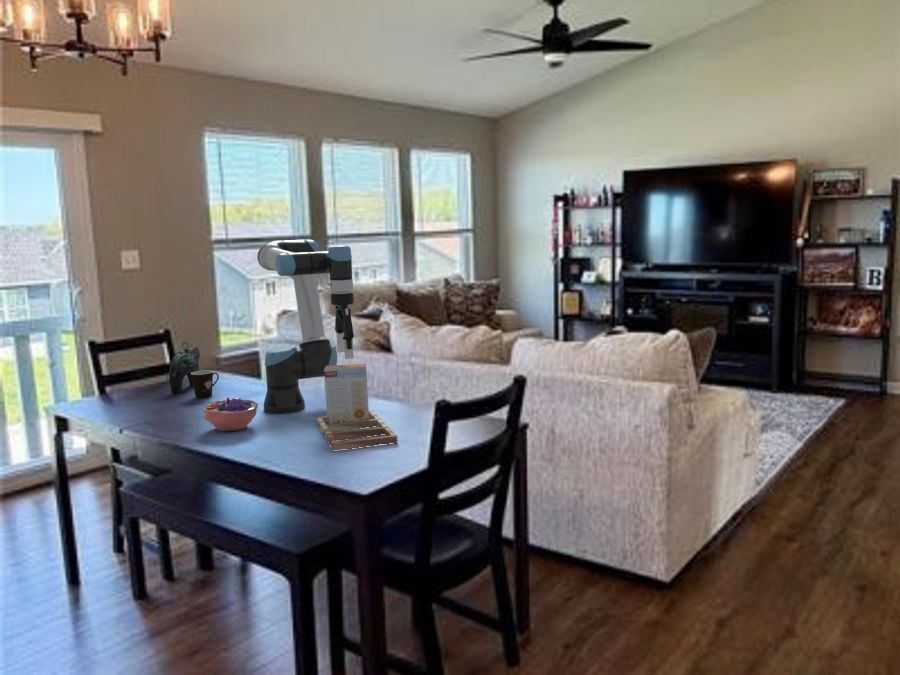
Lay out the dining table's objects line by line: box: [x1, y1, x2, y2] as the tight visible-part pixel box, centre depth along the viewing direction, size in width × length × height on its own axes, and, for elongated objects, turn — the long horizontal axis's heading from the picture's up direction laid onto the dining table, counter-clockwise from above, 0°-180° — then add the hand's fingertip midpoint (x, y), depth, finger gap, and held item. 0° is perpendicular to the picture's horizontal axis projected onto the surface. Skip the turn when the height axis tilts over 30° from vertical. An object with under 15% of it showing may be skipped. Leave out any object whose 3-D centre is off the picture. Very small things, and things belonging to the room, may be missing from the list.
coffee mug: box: [191, 369, 220, 399], centre depth 301 cm, size 12×9×10 cm
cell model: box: [202, 397, 259, 432], centre depth 252 cm, size 17×20×11 cm
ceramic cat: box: [168, 341, 201, 395], centre depth 315 cm, size 20×6×20 cm, turn 169°
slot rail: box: [316, 410, 398, 451], centre depth 243 cm, size 33×20×2 cm, turn 19°
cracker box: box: [324, 363, 370, 425], centre depth 251 cm, size 14×6×21 cm, turn 94°
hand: (345, 355), depth 248 cm, fingers open, 13 cm apart
